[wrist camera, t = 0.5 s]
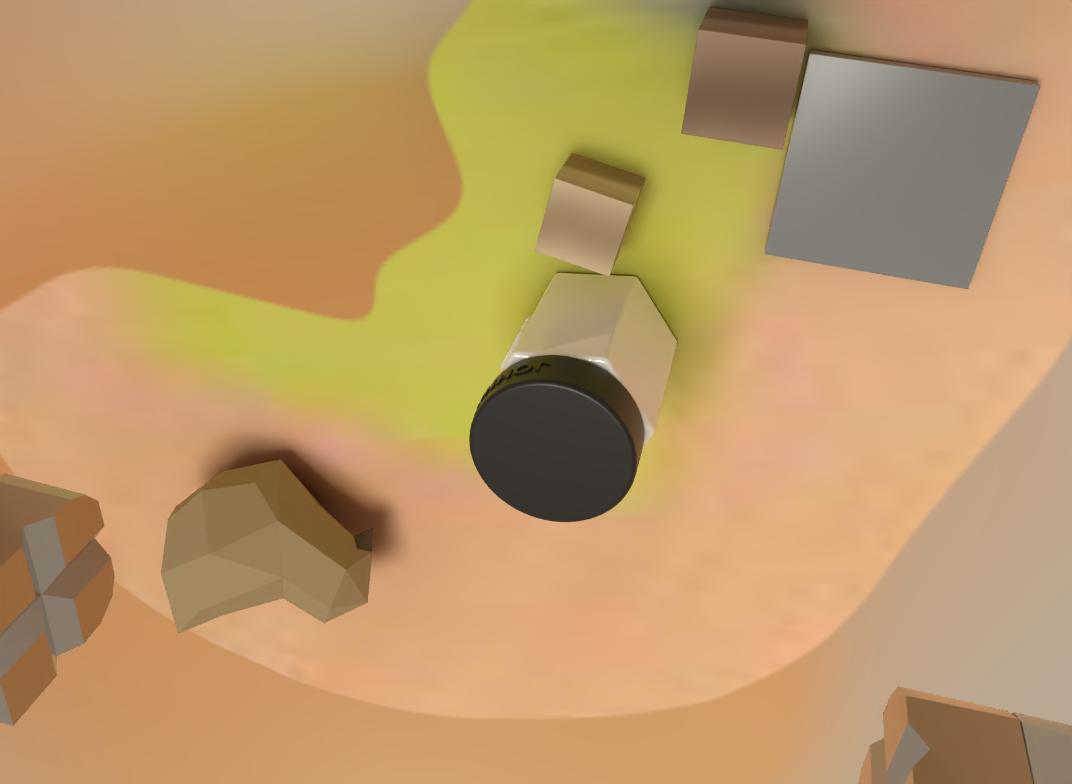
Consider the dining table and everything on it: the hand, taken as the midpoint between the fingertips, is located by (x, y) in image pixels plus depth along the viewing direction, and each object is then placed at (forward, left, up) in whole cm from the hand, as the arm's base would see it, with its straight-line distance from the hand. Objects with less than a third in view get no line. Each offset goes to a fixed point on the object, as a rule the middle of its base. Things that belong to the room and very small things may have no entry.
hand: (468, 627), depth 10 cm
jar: (+20, -4, -42) cm, 47 cm away
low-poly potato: (+38, -23, -42) cm, 62 cm away
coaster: (+8, +9, -42) cm, 44 cm away
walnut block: (+4, +1, -42) cm, 42 cm away
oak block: (+12, -5, -42) cm, 44 cm away
